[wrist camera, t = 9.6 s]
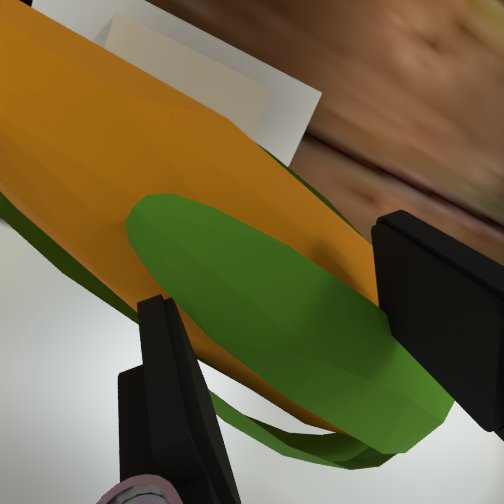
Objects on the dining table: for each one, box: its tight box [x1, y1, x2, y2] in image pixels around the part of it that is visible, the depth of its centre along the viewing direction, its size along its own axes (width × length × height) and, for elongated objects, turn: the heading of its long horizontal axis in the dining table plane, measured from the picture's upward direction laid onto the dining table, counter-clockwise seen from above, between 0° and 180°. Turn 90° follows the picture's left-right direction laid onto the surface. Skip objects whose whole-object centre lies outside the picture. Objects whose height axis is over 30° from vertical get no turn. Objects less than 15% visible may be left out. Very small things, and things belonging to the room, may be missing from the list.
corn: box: [0, 0, 455, 470], centre depth 13 cm, size 7×8×20 cm
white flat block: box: [31, 0, 322, 167], centre depth 31 cm, size 20×14×4 cm
